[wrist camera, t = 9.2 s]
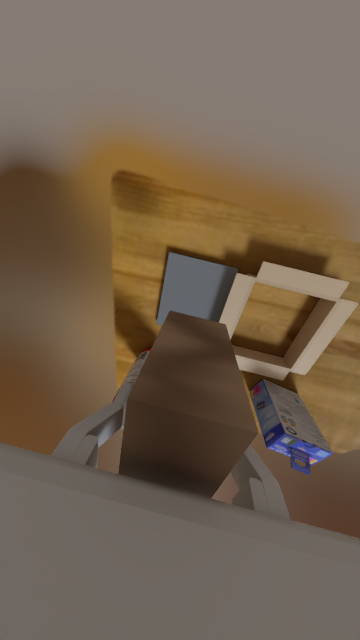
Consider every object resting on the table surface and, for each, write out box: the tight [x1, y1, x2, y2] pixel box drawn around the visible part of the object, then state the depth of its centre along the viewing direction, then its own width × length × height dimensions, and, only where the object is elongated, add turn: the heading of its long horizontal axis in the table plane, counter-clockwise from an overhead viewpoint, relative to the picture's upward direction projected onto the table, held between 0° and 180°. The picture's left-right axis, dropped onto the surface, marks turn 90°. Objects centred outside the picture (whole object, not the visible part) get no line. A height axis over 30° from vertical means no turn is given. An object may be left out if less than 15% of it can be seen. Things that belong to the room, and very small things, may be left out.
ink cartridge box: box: [250, 379, 333, 475], centre depth 33 cm, size 10×6×14 cm, turn 67°
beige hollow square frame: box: [219, 261, 359, 381], centre depth 30 cm, size 19×20×4 cm
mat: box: [157, 252, 238, 325], centre depth 31 cm, size 12×14×1 cm
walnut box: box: [119, 310, 258, 499], centre depth 11 cm, size 4×9×8 cm, turn 168°
